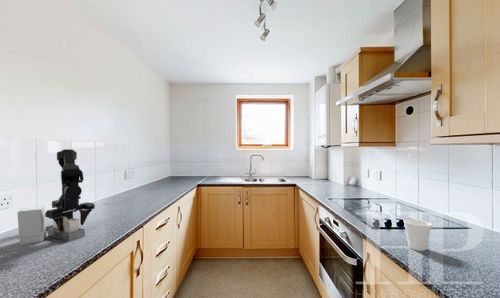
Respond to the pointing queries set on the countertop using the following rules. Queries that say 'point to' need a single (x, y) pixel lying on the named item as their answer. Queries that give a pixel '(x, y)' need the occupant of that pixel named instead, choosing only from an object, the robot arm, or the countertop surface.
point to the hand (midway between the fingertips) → (71, 228)
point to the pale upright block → (71, 225)
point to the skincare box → (31, 225)
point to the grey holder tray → (63, 235)
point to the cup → (417, 233)
